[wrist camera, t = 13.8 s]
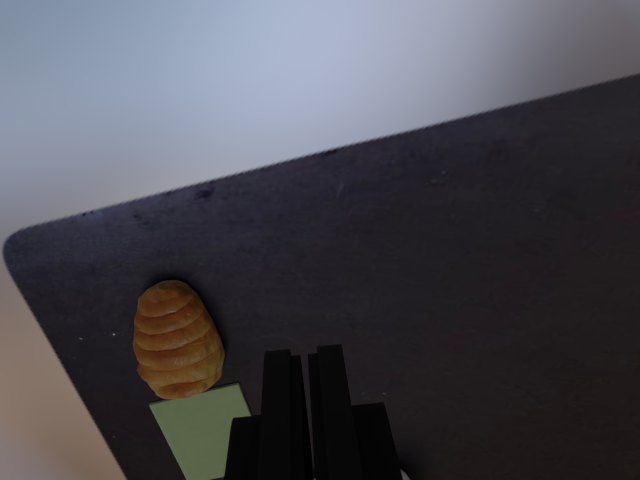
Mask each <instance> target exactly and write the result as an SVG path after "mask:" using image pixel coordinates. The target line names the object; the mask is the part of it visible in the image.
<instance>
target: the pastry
mask: <svg viewBox="0 0 640 480" xmlns="http://www.w3.org/2000/svg"><path fill="white" fill-rule="evenodd" d="M134 323H135V329H134V341H133V349H134V352H135V354H136V357H137V360H138V361H139V365H138V367H137V371H138V373H139V375H140V377H141V378H142V379H143V380H144V381H146V382H148V385H149V386H150V387H151V388H152V389H153V390H154V391H155V393H156V395H157V396H158V397H161V398H164V399H185V398H189V397H191V396H193V395H195V394H199V393H202V392H204V391H205V390H207V389H208V388H210V387H211V386H212V385H213V384H214V383H215V382H216V381H217V380H219V379H220V377H221V375H222V367H223V362H224V358H225V351H224V348H223V345H222V341H221V337H220V335H219V333H218V332H217V329H216V326H215V325H214V322H213V320H212V318H211V316H210V315H209V313H208V311H207V310H206V307H205V306H204V304H203V302H202V301H201V299H200V297H199V296H198V294H197V293H196V292H195V291H194V290H193V289H191V288H190V287H189V286H188V285H187V284H186V283H184V282H181V281H179V280H168V281H162V282H159V283H157V284H156V285H154V286H152V287H150V288H148V289H147V290H146V291H145V292H144V293H143V294H142V295H141V296H140V297H139V299H138V306H137V313H136V316H135V318H134Z"/></svg>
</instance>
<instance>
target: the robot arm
mask: <svg viewBox="0 0 640 480" xmlns="http://www.w3.org/2000/svg"><path fill="white" fill-rule="evenodd" d="M317 352H318V353H314V354H308V365H309V382H310V398H311V414H312V431H313V447H314V463H315V480H403V478H402V474H401V469H400V465H399V461H398V457H397V453H396V449H395V445H394V441H393V437H392V433H391V429H390V424H389V420H388V416H387V412H386V409H385V405H384V403H383V402H382V403H372V404H363V405H353V406H351V400H350V394H349V388H348V382H347V376H346V369H345V363H344V357H343V351H342V345H341V344H337V345H327V346H317ZM224 480H313V471H312V455H311V444H310V435H309V426H308V417H307V409H306V400H305V392H304V383H303V374H302V366H301V357H300V355H294V356H291V352H290V349H287V350H276V351H266V352H265V356H264V373H263V389H262V405H261V415H255V416H245V417H235V418H233V420H232V423H231V429H230V437H229V444H228V452H227V460H226V467H225V475H224Z"/></svg>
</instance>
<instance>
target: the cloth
mask: <svg viewBox="0 0 640 480" xmlns="http://www.w3.org/2000/svg"><path fill="white" fill-rule="evenodd" d="M149 406H150V408H151V410H152V412H153V414H154V416H155V418H156V420H157V422H158V424H159V426H160V428H161V430H162V432H163V434H164V436H165V438H166V440H167V442H168V444H169V446H170V448H171V450H172V452H173V454H174V456H175V458H176V460H177V462H178V464H179V466H180V468H181V470H182V472H183V474H184V476H185V478H186V480H211V479H215V478H219V477H224V475H225V467H226V460H227V452H228V444H229V437H230V429H231V423H232V420H233V418H235V417H245V416H252V415H251V412H250V410H249V407H248V405H247V402H246V400H245V397H244V395H243V392H242V390H241V387H240V385H239V382H238V383H233V384H229V385H225V386H221V387H216V388H212V389H208V390H205V391H204V392H202V393H199V394H195V395H193V396H191V397H189V398H185V399H165V400H161V401H156V402H152V403H150V404H149Z"/></svg>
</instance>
